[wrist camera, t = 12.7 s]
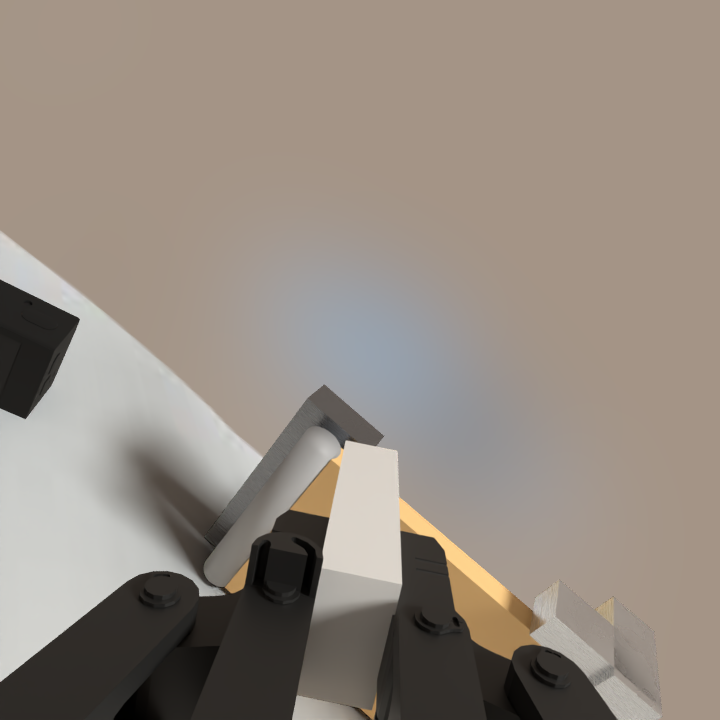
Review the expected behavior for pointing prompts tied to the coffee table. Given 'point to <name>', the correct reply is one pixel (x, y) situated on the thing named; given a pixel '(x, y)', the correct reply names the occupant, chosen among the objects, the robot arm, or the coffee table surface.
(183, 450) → the coffee table surface
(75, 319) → the digital camera
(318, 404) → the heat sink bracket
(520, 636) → the orange wooden board
